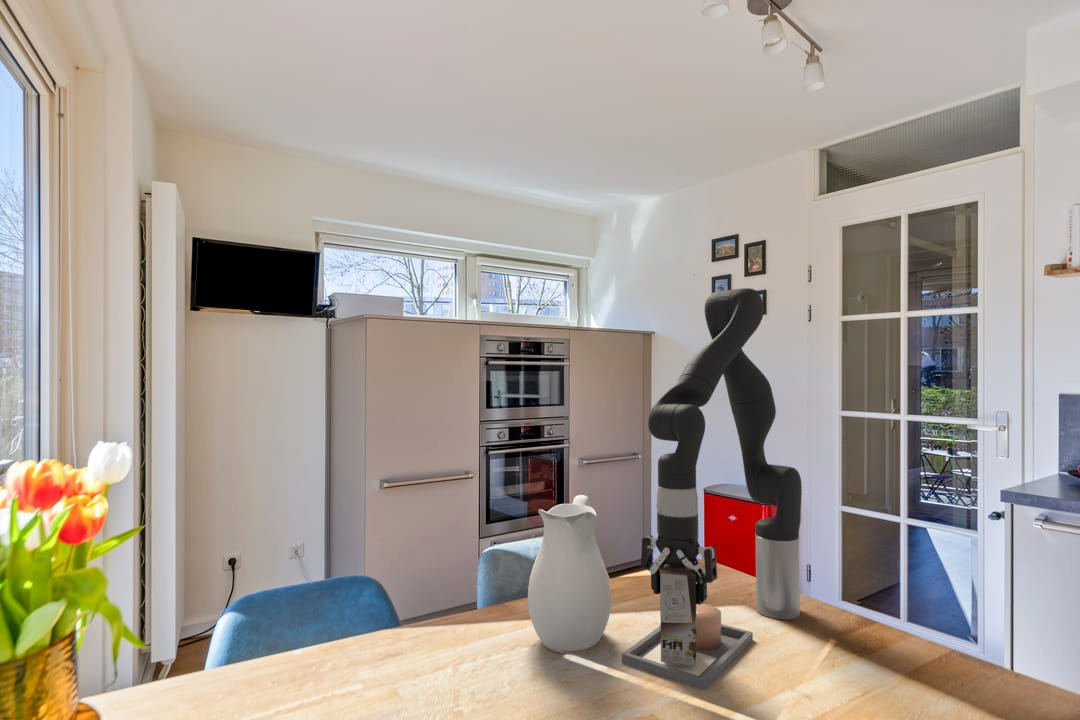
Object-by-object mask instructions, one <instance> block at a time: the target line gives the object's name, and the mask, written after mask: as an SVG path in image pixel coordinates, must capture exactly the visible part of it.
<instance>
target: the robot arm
mask: <svg viewBox="0 0 1080 720" xmlns="http://www.w3.org/2000/svg"><path fill="white" fill-rule="evenodd" d="M764 310H765V308H764V302H763V298H762V296H761V294H760V293H759V292H758V291H757V290H756V289H753V288H749V287H747V288H746V287H745V288H734V289H728V290H720V291H715V292H712V293H710V294H708V295H707V297H706V299H705V301H704V317H705V321H706V325H707V329H708V331H709V335H710V337H711V341H709V342H708V343H706V344H705V345H704V346H703V347H702V348H700V349H699V350H697V352H696V353H695V354H694V355H692V357H691V358H690V359H689V361H688V362H687V364H686V365H685V367H684V368H683V370H682V372H681V374H680V376H679V378H678V380H677V382H676V383H675V384H674V385H673V386H672V387H670V388H669V389H668V390H667V391H666V392H665V393H664V394H663V395H662V396H661V397H660V398H659V399H658V400H657V401H656V403H655V404H654V405H653V406H652V408H651V410H650V412H649V414H648V418H647V425H648V430H649V432H650V434H651V435H652V437H654V438H655V439H656V440H661V441H666V442H667V441H670V442H677V447H676V449H675V451H674V452H671V453H669V452H668V453H665V454H662V455H660V456H659V458H658V461H657V493H656V504H655V505H656V507H655V508H656V533H657V538H656V537H654V536H653V535H651V534H649V535H647V536H645V537H643V538H642V539H641V559H640V560H641V562H640V566H641V568H642V569H643V570H645V569H646V570H648V571H649V572H650V588H651V590H652V591H653V594H654V595H659V594H660V570H661V565H662V564H664V563H666V562H667V563H668V565H676V566H678V567H682V568H684V567H686V569H687V570H688V571H689V572H695V574H696V604H699V605H701V604H704V602H705V601H706V600H707V599H708V584H711V583H712V582H714V581H716V580H717V579H718V568H717V567H718V566H717V554H716V553H717V550H716V548H715V546H714V545H711V546H708V547H706V546H701V545H700V544H699V501H698V500H699V497H698V491H697V463H698V459H699V455H700V449H701V446H702V443H703V439H704V435H705V431H706V419H705V415H704V413H703V411H702V410H701V409H700V408H701V407H704V406H706V405H707V404H708V403H709V401H710V400H711V398H712V396H713V394H714V392H715V390H716V388H717V386H718V384H719V382H720V379H721V378H722V376H723V378H724V382H725V387H726V390H727V396H728V399H729V405H730V410H731V413H732V417H733V420H734V423H735V424H734V425H735V427H736V430H737V436H738V440H739V446H740V451H741V456H742V457H741V458H742V463H743V465H742V466H743V472H744V478H745V484H746V485H745V486H746V488H747V492H748V495H749V496H750V498H751V499H752V500H753V501H754V502H756V503H759V504H763V505H768V506H773V507H776V511H775V515H774V516H773V517H767V518H761V519H759V520H758V521H756V523H755V525H754V526H755V530H754V531H755V533H754V534H755V585H756V586H755V590H756V591H755V598H756V602H755V603H756V610H757V611H756V612H758V613H759V614H761V615H762V616H765V617H768V618H771V619H777V620H795V619H797V618H799V617H800V615H801V599H800V598H801V596H800V595H801V594H800V593H801V592H800V591H801V590H800V585H801V584H800V581H801V580H800V535H799V533H800V527H801V522H802V520H801V519H802V516H801V514H802V513H801V511H802V495H803V494H802V491H803V490H802V489H803V488H802V487H803V486H802V478H801V475H800V473H799V471H798V470H797V469H796V468H794V467H792V466H787V465H780V464H779V465H777V464H771V463H770V464H769V463H768V462H767V459H766V455H765V442H766V440H767V439H766V438H767V436H768V434H769V433H770V431H771V429H772V427H773V423H774V421H775V419H776V415H777V411H776V410H777V409H776V403H775V399H774V395H773V394H774V393H773V390H772V387H771V383H770V382H769V380H768V378H767V377H766V376H765V374H764V373H763V372H762V371H761V370H760V369H759V368H758V367H757V366H756V364H755V363H754V362H753V361H752V360H751V359H750V358H749V357H748V356H747V354H746V353H745V352H744V351H743V349H742V348H743V347H744V346H745V345H746V343H747V342H748V341H749V339H750V338H751V337H752V335H754V333H755V332H756V331H757V329H758V328H759V326H760V325H761V322H762V320H763V317H764ZM655 547H656V549H657V550H658V552H659V555H658V557H657V558H656V559H655V560H654V561H653V559H654V549H655ZM699 554H700V556H701V558H702V559H703V560H704V561H703V562H704V569H703V564H702V563H701V561H700V560H699V559H698V557H697V556H698V555H699ZM692 563H693V565H692Z"/></svg>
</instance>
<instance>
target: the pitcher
mask: <svg viewBox="0 0 1080 720" xmlns="http://www.w3.org/2000/svg"><path fill="white" fill-rule="evenodd" d="M590 503H591V502H590V498H589V497H588V496H587V495H583V494H578V495H576V496H574V498H573V500H572V503H561V504H557V505H554V506H553V507H552V508H550V509H549V510H547V511H545V510H544V509H541V508H540V509H538V510H537V512H538V514H539V516H540V517H541V519H542V522H543V527H544V530H543V536H542V541H541V543H540V546H539V549H538V552H537V554H536V558H535V561H534V563H533V566H532V569H531V571H530V572H531V573H530V577H529V582H528V587H527V588H528V590H527V606H528V612H529V618H530V621H531V624H532V626H533V629H534V631H535V633H536V635H537V636H538V639H539V640H540V642H541V643H542V644H543V646H544V647H545V648H547V649H548V650H550V651H552V652H555V653H559V654H564V655H565V654H567V655H569V654H572V653H571V652H575V651H583V650H587V649H590V648H592V647H594V646H596V645H597V644H598V642H599V641H600V639H601V638H602V636H603V634H604V632H605V630H606V628H607V625H608V622H609V619H610V615H611V609H612V607H611V606H612V591H611V590H612V589H611V583H610V578H609V575H608V571H607V568H606V565H605V562H604V559H603V557H602V554H601V551H600V549H599V546H598V544H597V541H596V535H595V524H596V520H597V519H598V515H597V513H596V510H595V509H594V508H593V507H591V506H590V505H591V504H590Z"/></svg>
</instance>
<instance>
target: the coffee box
mask: <svg viewBox="0 0 1080 720" xmlns="http://www.w3.org/2000/svg"><path fill="white" fill-rule="evenodd" d="M692 565H693V563H692ZM696 583H697V582H696V574H695V572H689V571H688V570H687V569H686V567H684V568H682V567H678V566H676V565H668V563H667V562H666V563H664V564H662V565H661V570H660V593H659V594H660V596H659V598H660V599H659V602H660V603H659V605H660V607H659V608H660V612H659V613H660V615H659V617H660V626H661V662H666V663H674V664H682V665H689V666H695V665H696V635H697V629H696V627H697V623H696V620H697V618H696Z"/></svg>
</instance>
